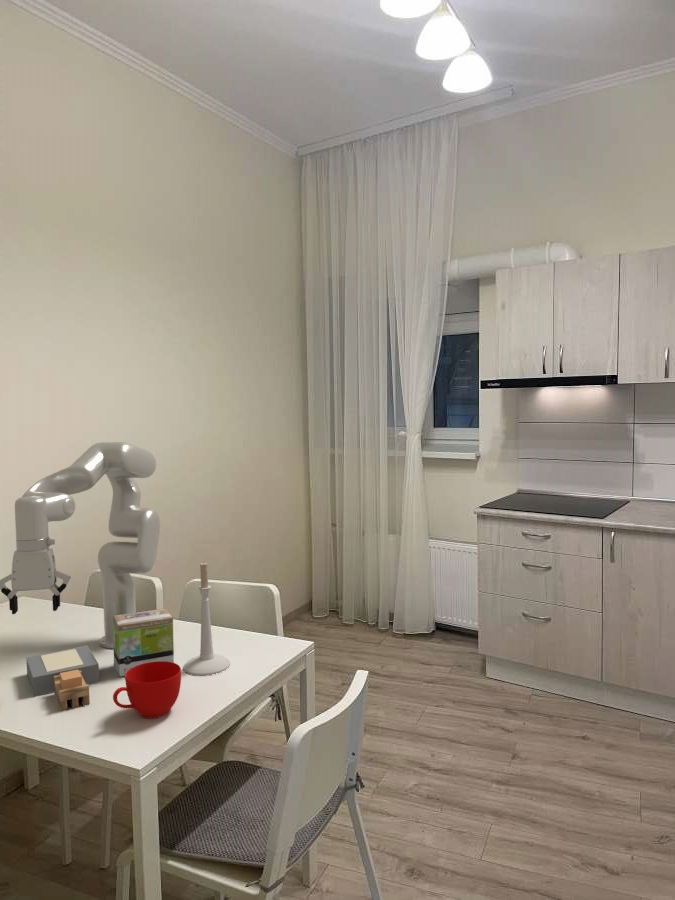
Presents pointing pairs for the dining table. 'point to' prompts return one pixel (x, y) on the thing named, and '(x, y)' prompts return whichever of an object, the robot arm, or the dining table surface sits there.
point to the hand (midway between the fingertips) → (35, 611)
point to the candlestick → (206, 637)
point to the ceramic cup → (151, 688)
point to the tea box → (142, 639)
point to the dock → (60, 668)
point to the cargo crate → (70, 679)
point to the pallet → (71, 694)
